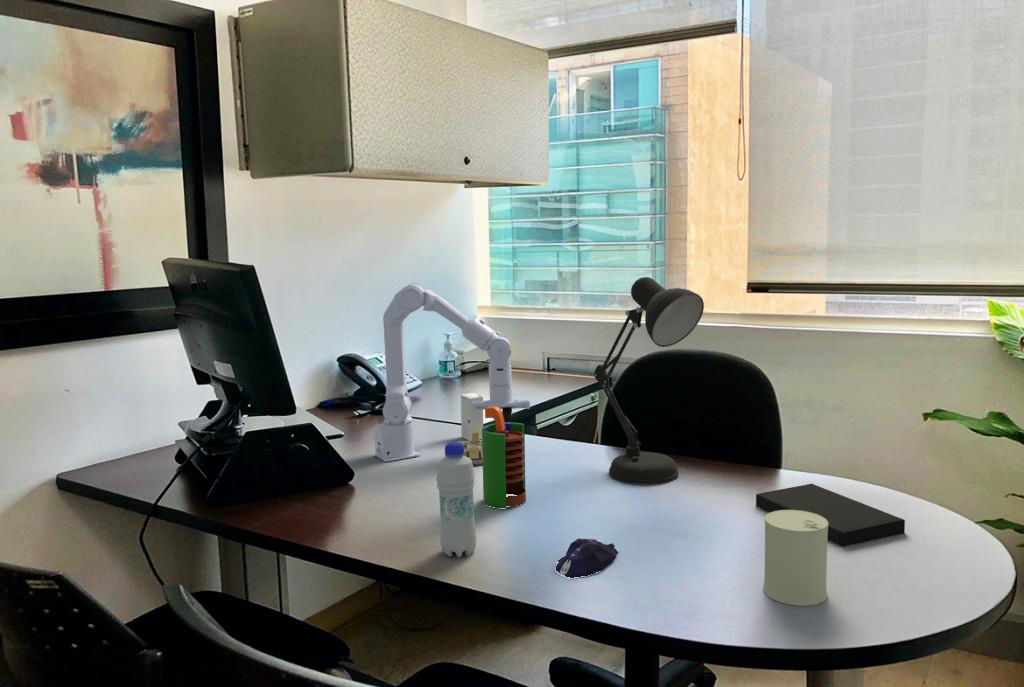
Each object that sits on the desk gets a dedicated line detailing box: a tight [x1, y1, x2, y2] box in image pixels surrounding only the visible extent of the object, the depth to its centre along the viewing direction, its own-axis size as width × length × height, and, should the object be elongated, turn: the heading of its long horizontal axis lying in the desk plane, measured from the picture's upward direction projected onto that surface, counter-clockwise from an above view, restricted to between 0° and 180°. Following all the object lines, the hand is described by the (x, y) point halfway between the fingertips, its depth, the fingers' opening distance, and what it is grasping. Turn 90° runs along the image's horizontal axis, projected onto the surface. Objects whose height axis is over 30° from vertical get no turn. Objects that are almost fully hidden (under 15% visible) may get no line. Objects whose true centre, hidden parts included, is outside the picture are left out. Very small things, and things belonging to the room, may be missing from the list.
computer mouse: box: [555, 538, 619, 578], centre depth 136 cm, size 9×15×4 cm, turn 137°
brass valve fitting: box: [457, 429, 483, 459], centre depth 200 cm, size 11×12×4 cm
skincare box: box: [460, 392, 484, 441], centre depth 219 cm, size 6×4×12 cm
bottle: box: [435, 441, 477, 558], centre depth 140 cm, size 7×7×20 cm
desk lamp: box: [593, 276, 705, 485], centre depth 179 cm, size 24×26×45 cm
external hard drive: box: [755, 483, 906, 548], centre depth 152 cm, size 14×23×3 cm, turn 22°
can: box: [762, 510, 829, 607], centre depth 121 cm, size 9×9×12 cm
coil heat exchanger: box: [482, 406, 527, 509], centre depth 166 cm, size 10×9×20 cm
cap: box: [466, 443, 483, 466], centre depth 200 cm, size 13×13×4 cm
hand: (502, 436), depth 205 cm, fingers closed
